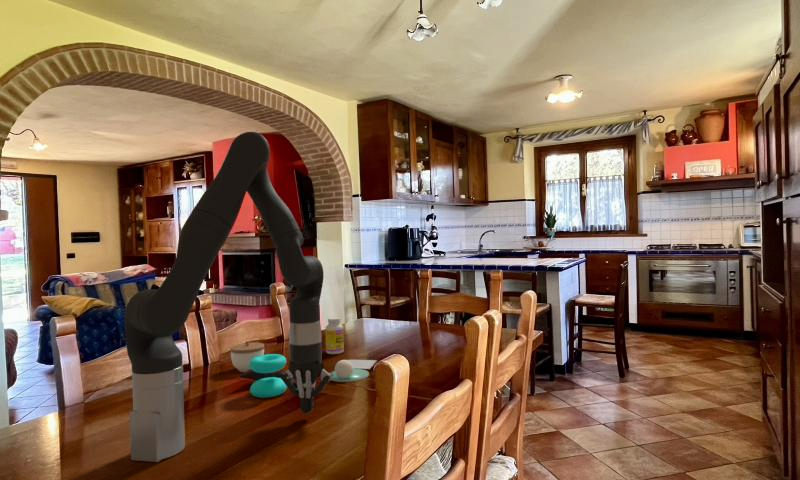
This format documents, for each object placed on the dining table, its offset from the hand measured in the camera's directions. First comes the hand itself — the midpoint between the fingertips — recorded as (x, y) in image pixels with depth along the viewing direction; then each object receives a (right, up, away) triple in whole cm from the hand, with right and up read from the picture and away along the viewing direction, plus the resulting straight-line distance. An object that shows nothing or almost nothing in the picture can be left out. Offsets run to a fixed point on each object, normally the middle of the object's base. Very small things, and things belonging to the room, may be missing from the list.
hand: (307, 412), depth 110 cm
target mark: (+6, -1, +33) cm, 34 cm away
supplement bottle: (-2, -1, +63) cm, 63 cm away
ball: (+5, +2, +30) cm, 31 cm away
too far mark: (+8, -1, +45) cm, 46 cm away
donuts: (-15, -2, +19) cm, 24 cm away
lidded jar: (-28, -2, +43) cm, 52 cm away
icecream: (-19, -2, +28) cm, 34 cm away
